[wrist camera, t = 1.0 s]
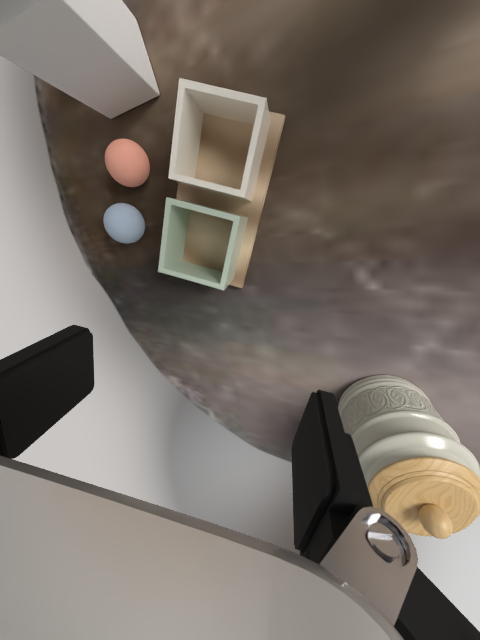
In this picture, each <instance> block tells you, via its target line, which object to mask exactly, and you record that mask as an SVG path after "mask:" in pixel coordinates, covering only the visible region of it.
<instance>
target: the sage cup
mask: <svg viewBox="0 0 480 640" xmlns="http://www.w3.org/2000/svg"><path fill="white" fill-rule="evenodd" d="M190 210H194V211H197V212H201V213H205V214H209V215H212V216H216V217H220V218H224V219H228V220H231V221H233V226H232V230H231V235H230V240H229V245H228V249H227V254H226V259H225V263H224V268H223V272H221V271H218V270H214V269H211V268H207V267H203V266H200V265H196V264H193V263H189V262H185V261H182V260H183V254H184V247H185V240H186V233H187V226H188V220H189V213H190ZM247 220H248V217H246V216H242V215H238V214H234V213H230V212H227V211H223V210H219V209H215V208H211V207H207V206H204V205H200V204H196V203H192V202H188V201H184V200H179V199H174V198H169V197H166V204H165V213H164V222H163V231H162V240H161V249H160V258H159V267H158V272H161V273H165V274H168V275H172V276H175V277H179V278H182V279H186V280H189V281H193V282H196V283H200V284H203V285H207V286H210V287H214V288H217V289H221V290H225V289H226V287H227V286H228V285H229V284H230V283H231V282H232V281H233V280H234V276H235V272H236V267H237V263H238V259H239V255H240V250H241V246H242V242H243V238H244V233H245V229H246V225H247Z"/></svg>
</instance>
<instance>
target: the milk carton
mask: <svg viewBox="0 0 480 640" xmlns="http://www.w3.org/2000/svg"><path fill="white" fill-rule="evenodd" d="M0 55H1V56H2V57H4V58H6V59H7V60H9V61H11V62H13V63H14V64H16V65H18V66H20V67H21V68H23V69H25V70H26V71H28V72H30V73H32V74H33V75H35V76H37V77H39V78H40V79H42V80H44V81H46V82H47V83H49V84H51V85H52V86H54V87H56V88H58V89H59V90H61V91H63V92H65V93H66V94H68V95H70V96H72V97H73V98H75V99H77V100H78V101H80V102H82V103H84V104H85V105H87V106H89V107H91V108H92V109H94V110H96V111H98V112H99V113H101V114H103V115H104V116H106V117H108V118H110V119H112V118H114V117H116V116H118V115H120V114H122V113H124V112H126V111H128V110H130V109H132V108H134V107H137V106H139V105H141V104H143V103H145V102H147V101H149V100H151V99H153V98H155V97H157V96H159V95H160V94H159V90H158V87H157V83H156V80H155V77H154V74H153V71H152V67H151V64H150V61H149V58H148V55H147V51H146V48H145V45H144V42H143V39H142V36H141V32H140V29H139V26H138V23H137V20H136V19H135V17H134V16H133V14H132V13H131V12H130V10H129V9H128V8H127V6H126V5H125V4H124V2H123V1H122V0H0Z"/></svg>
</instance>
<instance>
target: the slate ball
mask: <svg viewBox="0 0 480 640" xmlns="http://www.w3.org/2000/svg"><path fill="white" fill-rule="evenodd" d="M103 221H104V227H105V229H106V231H107V233H108V234H109V235H110V236H111V237H112V238H113V239H114V240H116V241H118V242H121V243H126V244H129V243H134V242H136V241H138V240H139V239H140V238H141V237H142V236H143V234H144V231H145V221H144V218H143V216H142V214H141V213H140V212H139V211H138V210H137V209H136V208H135V207H133V206H131V205H129V204H126V203H117V204H114V205H112V206H110V207H109V208H108V209H107V210H106V212H105V214H104V220H103Z"/></svg>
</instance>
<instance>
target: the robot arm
mask: <svg viewBox="0 0 480 640" xmlns="http://www.w3.org/2000/svg"><path fill="white" fill-rule="evenodd" d="M93 362H94V361H93V335H92V333H90V331H89V329H88V328H84V327H80V326H77V325H72V326H70V327H67V328H65V329H63V330H61V331H59V332H57V333H55V334H53V335H51V336H49V337H47V338H45V339H42V340H40V341H38V342H36V343H34V344H32V345H30V346H28V347H26V348H24V349H22V350H20V351H18V352H16V353H14V354H12V355H9V356H7V357H5V358H3V359H1V360H0V640H480V632H479V631H478V630H477V629H476V628H475V627H474V626H473V625H472V624H471V623H470V622H469V621H468V619H467V618H466V617H465V616H464V615H463V614H462V613H461V612H460V611H459V610H458V609H457V608H456V607H455V606H454V605H453V604H452V603H451V602H450V601H449V600H448V599H447V598H446V597H445V595H444V594H443V593H442V592H441V591H440V590H439V589H438V588H437V587H436V586H435V585H434V584H433V583H432V582H431V581H430V580H429V579H428V578H427V577H426V576H425V575H424V574H423V572H422V571H421V570H420V569H418V567H417V563H418V558H417V552H416V548H415V546H414V544H413V542H412V540H411V538H410V536H409V535H408V533H407V532H406V531H405V529H404V528H403V527H402V526H401V525H400V524H399V523H398V521H397V520H396V519H394V518H393V517H392V516H390V515H389V514H388V513H386V512H384V511H382V510H380V509H378V508H374V507H373V503H372V500H371V497H370V494H369V490H368V487H367V484H366V481H365V478H364V474H363V471H362V468H361V465H360V461H359V458H358V455H357V452H356V448H355V445H354V442H353V439H352V437H351V435H350V434H348V433H345V432H344V428H343V425H342V421H341V417H340V414H339V410H338V407H337V403H336V400H335V396H334V394H333V393H329V392H325V391H322V390H318V391H317V393H315V392H312V393H311V396H310V398H309V401H308V404H307V406H306V409H305V411H304V414H303V417H302V419H301V422H300V425H299V427H298V430H297V433H296V435H295V438H294V440H293V444H292V478H293V515H294V545H295V549H297V550H300V555H299V554H296V553H294V552H291V551H289V550H286V549H284V548H281V547H279V546H277V545H273V544H271V543H268V542H266V541H263V540H260V539H257V538H254V537H251V536H248V535H245V534H242V533H240V532H237V531H234V530H231V529H228V528H225V527H222V526H219V525H216V524H213V523H210V522H207V521H204V520H201V519H198V518H195V517H191V516H188V515H185V514H182V513H179V512H176V511H173V510H170V509H167V508H164V507H161V506H158V505H154V504H151V503H148V502H145V501H142V500H139V499H136V498H133V497H129V496H126V495H123V494H120V493H117V492H114V491H110V490H108V489H104V488H101V487H98V486H95V485H92V484H89V483H86V482H82V481H79V480H76V479H73V478H70V477H67V476H64V475H60V474H57V473H54V472H51V471H48V470H45V469H41V468H38V467H35V466H32V465H28V464H25V463H22V462H18V461H16V460H12V458H16V457H17V456H19V455H20V454H21V453H22V452H23V451H24V450H25V449H27V448H28V447H29V446H30V445H31V444H32V443H34V442H35V441H36V440H37V439H38V438H39V437H40V436H42V435H43V434H44V433H45V432H46V431H47V430H48V429H49V428H51V427H52V426H53V425H54V424H55V423H56V422H58V420H60V419H61V418H62V417H63V416H64V415H65V414H67V413H68V412H69V411H70V410H71V409H72V408H74V407H75V406H76V405H77V404H78V403H79V402H80V401H82V400H83V399H84V398H85V397H86V396H87V395H88V394H90V392H91V391H92V390H93V388H94V363H93Z"/></svg>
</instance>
